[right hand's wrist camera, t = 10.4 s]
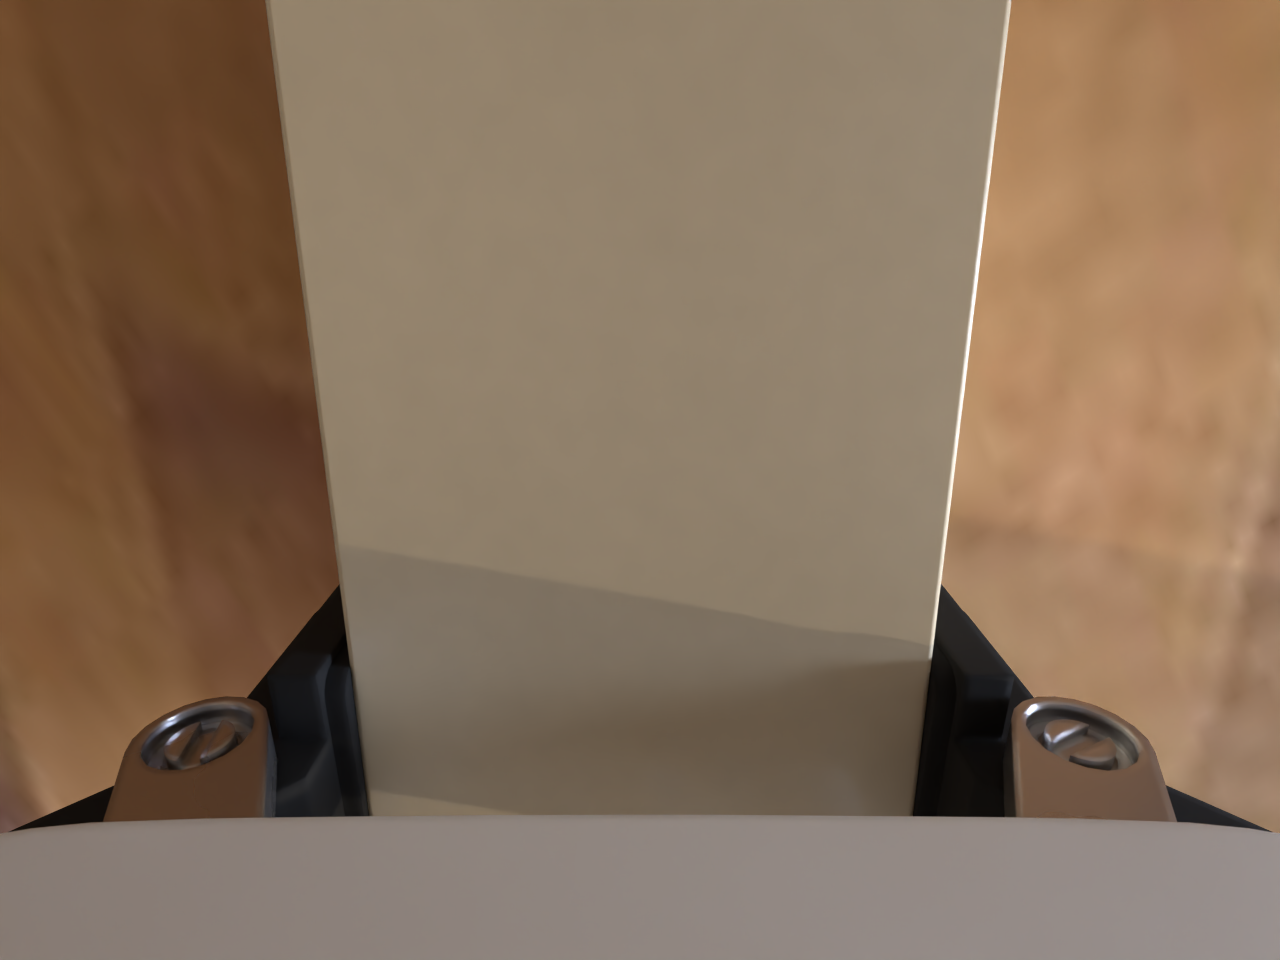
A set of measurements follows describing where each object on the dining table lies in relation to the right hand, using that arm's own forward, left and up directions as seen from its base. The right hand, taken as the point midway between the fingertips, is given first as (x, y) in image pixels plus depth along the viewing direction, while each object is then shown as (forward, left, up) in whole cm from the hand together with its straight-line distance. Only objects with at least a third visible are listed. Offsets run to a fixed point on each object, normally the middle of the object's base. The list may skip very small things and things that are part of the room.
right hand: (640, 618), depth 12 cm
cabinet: (+1, -6, -5) cm, 7 cm away
